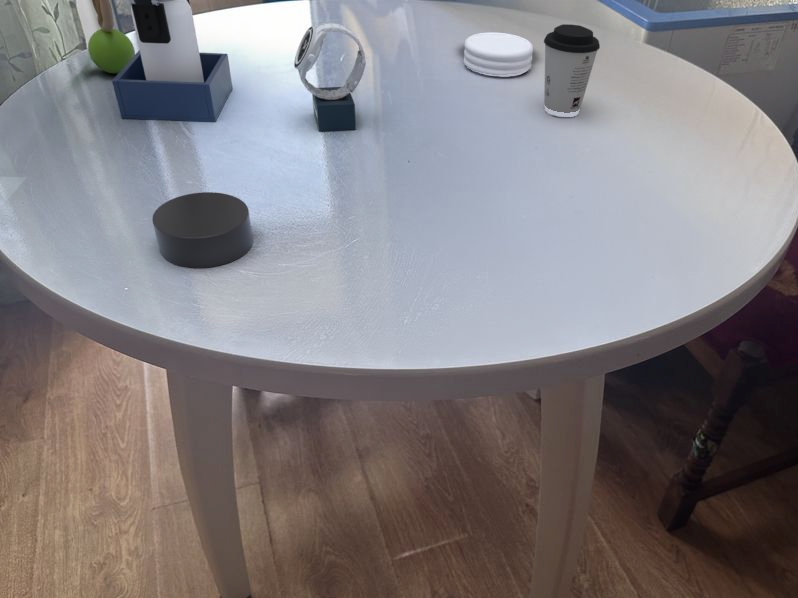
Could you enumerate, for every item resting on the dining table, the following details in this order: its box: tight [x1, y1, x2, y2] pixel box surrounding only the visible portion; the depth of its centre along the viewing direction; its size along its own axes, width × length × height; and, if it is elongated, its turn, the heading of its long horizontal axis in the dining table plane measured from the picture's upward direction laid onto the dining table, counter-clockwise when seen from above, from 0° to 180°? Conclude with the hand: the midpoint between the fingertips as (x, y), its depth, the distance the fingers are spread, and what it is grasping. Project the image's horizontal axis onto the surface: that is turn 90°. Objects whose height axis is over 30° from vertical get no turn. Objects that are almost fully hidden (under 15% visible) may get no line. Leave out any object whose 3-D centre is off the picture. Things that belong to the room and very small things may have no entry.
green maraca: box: [87, 0, 136, 75], centre depth 90 cm, size 5×6×12 cm
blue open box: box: [111, 49, 233, 123], centre depth 86 cm, size 11×11×4 cm
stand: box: [151, 191, 254, 269], centre depth 63 cm, size 8×8×3 cm
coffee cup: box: [543, 23, 601, 113], centre depth 90 cm, size 7×7×10 cm
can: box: [130, 0, 204, 83], centre depth 83 cm, size 6×6×12 cm
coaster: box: [463, 31, 534, 75], centre depth 104 cm, size 10×10×4 cm
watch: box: [293, 21, 367, 133], centre depth 83 cm, size 6×8×11 cm
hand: (167, 28), depth 82 cm, fingers open, 9 cm apart
